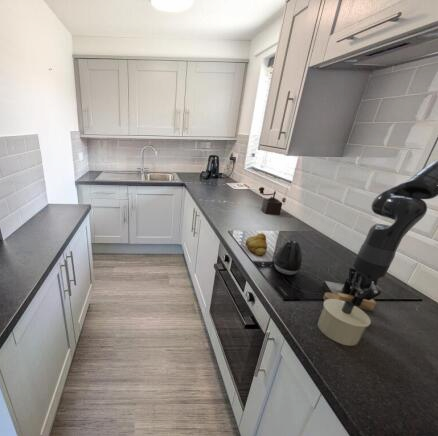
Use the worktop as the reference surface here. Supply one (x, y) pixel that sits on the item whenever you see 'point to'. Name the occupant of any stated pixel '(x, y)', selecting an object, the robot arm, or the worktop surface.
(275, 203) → the manual coffee grinder
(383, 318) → the worktop surface
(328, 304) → the pot lid
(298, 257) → the dark grey egg shape
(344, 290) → the knob
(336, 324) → the pot
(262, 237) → the bread roll
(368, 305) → the spoon
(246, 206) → the worktop surface
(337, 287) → the grey flat piece
